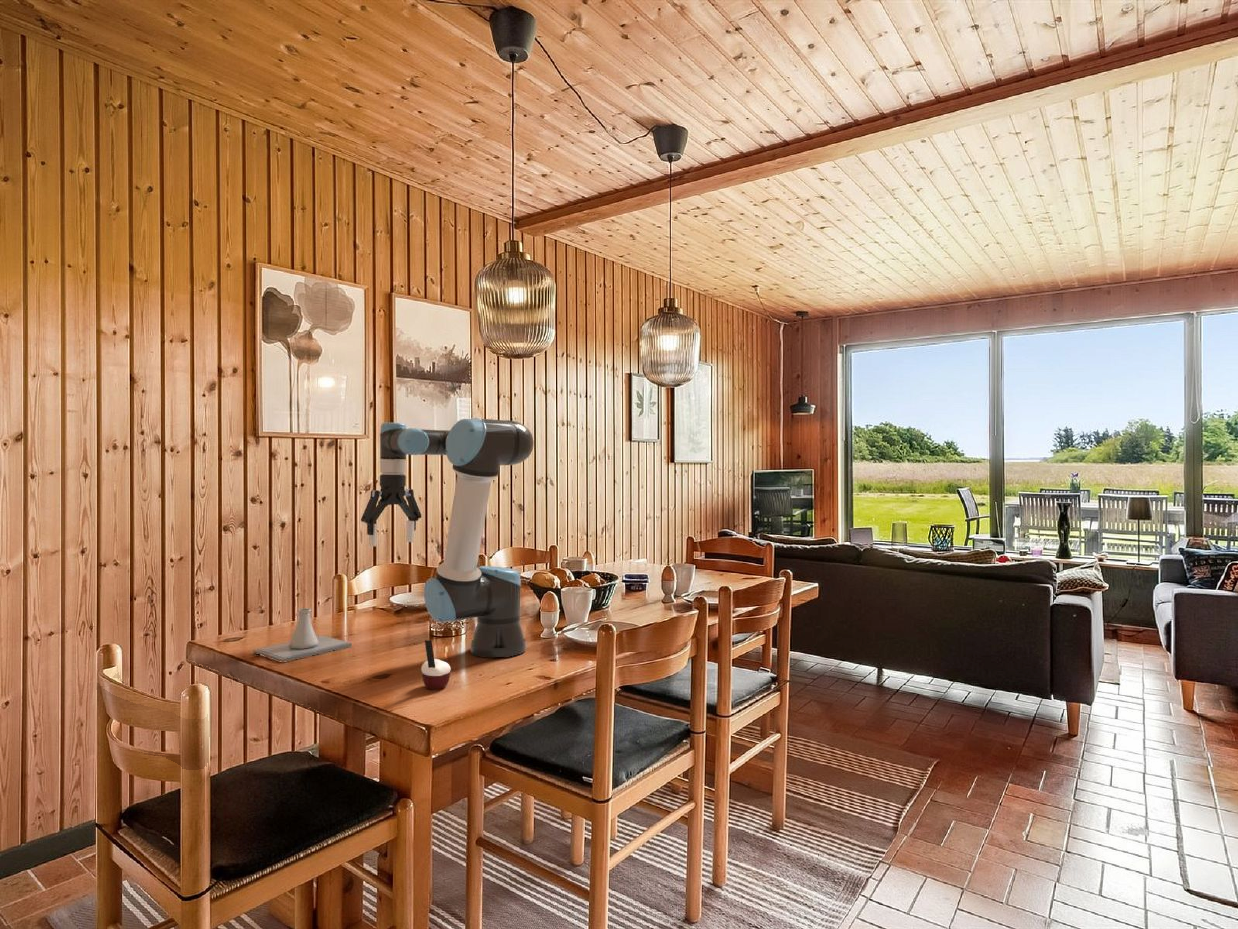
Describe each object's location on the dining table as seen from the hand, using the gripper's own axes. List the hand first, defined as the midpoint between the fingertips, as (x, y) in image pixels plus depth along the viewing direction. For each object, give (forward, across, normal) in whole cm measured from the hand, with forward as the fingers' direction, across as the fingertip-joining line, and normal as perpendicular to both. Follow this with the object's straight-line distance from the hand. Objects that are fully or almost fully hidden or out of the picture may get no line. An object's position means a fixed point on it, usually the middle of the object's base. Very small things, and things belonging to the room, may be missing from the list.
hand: (391, 544), depth 213 cm
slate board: (+27, +27, -2) cm, 38 cm away
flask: (+26, +27, -2) cm, 37 cm away
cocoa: (+27, +26, +50) cm, 62 cm away
